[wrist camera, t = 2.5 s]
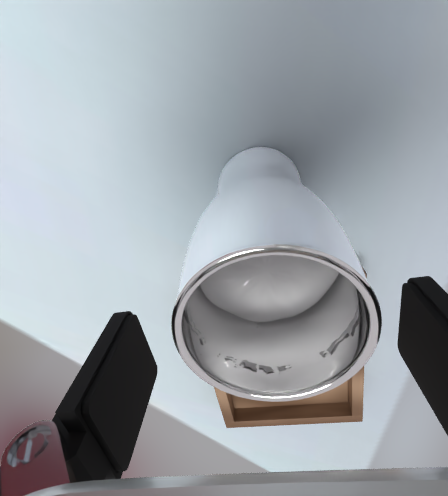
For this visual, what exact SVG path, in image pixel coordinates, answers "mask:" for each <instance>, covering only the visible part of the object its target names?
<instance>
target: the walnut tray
mask: <svg viewBox="0 0 448 496" xmlns="http://www.w3.org/2000/svg"><path fill="white" fill-rule="evenodd" d="M361 266H362V265H361ZM362 269H363V267H362ZM363 271H364V274H365V276H366V278H367V274H366V272H365V270H364V269H363ZM363 385H364V366H363V367H362V368H361V369H360V371H358V372H357V373H356V374H355V375H354V376H353V377H351V378H350V379H349V380H347V381H346V382H344V383H343V384H341V385H339V386H337V387H336V388H334V389H331V390H329V391H327V392H324V393H322V394H319V395H316V396H312V397H309V398H304V399H299V400H293V401H279V402H271V401H258V400H251V399H246V398H242V397H238V396H235V395H232V394H229V393H226V392H224V391H221V390H219V389H217V388H215V387H214V389H215V392H216V395H217V398H218V402H219V405H220V408H221V411H222V415H223V418H224V421H225V424H226V427H227V428H234V427H255V426H276V425H297V424H318V423H339V422H360V421H362V419H363Z"/></svg>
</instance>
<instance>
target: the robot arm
mask: <svg viewBox="0 0 448 496" xmlns="http://www.w3.org/2000/svg"><path fill="white" fill-rule="evenodd" d="M398 349H399V352H400V354H401V356H402V358H403V360H404V361H405V363H406V365H407V367H408V368H409V370H410V372H411V374H412V375H413V377H414V379H415V380H416V382H417V384H418V386H419V387H420V389H421V390H422V392H423V394H424V396H425V398H426V399H427V401H428V403H429V404H430V406H431V408H432V410H433V411H434V413H435V415H436V416H437V418H438V420H439V422H440V423H441V425H442V426H443V428H444V430H445V432H446V434H447V435H448V294H447V293H446V292H445V291H444V290H443V289H442V288H441V287H440V286H439V285H438V284H437V283H436V282H435V281H434V280H433V279H432V278H431V277H430V276H425V277H416V278H410V279H409V280H408V282H407V283H404V284H403V286H402V296H401V309H400V321H399V333H398ZM156 376H157V365H156V362H155V360H154V357H153V355H152V352H151V350H150V347H149V345H148V342H147V340H146V337H145V335H144V332H143V330H142V327H141V325H140V322H139V320H138V317H137V316H136V315H133V314H132V313H131V312H130V311H127V312H118V313H114V314H113V315H112V317H111V319H110V320H109V322H108V324H107V325H106V327H105V329H104V330H103V332H102V334H101V335H100V337H99V339H98V341H97V342H96V344H95V346H94V347H93V349H92V351H91V352H90V354H89V356H88V358H87V359H86V361H85V363H84V364H83V366H82V368H81V370H80V371H79V373H78V375H77V376H76V378H75V380H74V381H73V383H72V385H71V386H70V388H69V390H68V392H67V393H66V395H65V397H64V399H63V400H62V402H61V403H60V405H59V407H58V409H57V410H56V412H55V413H56V414H55V416H54V418H53V420H52V421H50V420H42V421H38V422H35V423H33V424H31V425H29V426H27V427H26V428H25V429H23V430H22V431H21V432H19V433H18V434H17V435H16V436H15V437H14V438H13V439H12V440H11V441H10V443H9V444H8V445H7V447H6V448H5V450H4V453H3V455H2V458H1V466H0V496H448V467H436V468H392V469H359V470H327V471H298V472H269V473H242V474H219V475H218V474H216V475H192V476H169V477H144V478H126V479H121V475H122V472H123V471H125V470H127V468H128V466H129V463H130V460H131V457H132V454H133V450H134V447H135V444H136V441H137V437H138V434H139V431H140V428H141V425H142V422H143V418H144V415H145V412H146V408H147V405H148V402H149V399H150V396H151V393H152V389H153V386H154V383H155V380H156Z"/></svg>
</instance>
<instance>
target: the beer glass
mask: <svg viewBox="0 0 448 496" xmlns="http://www.w3.org/2000/svg"><path fill="white" fill-rule="evenodd" d="M171 327H172V335H173V340H174V343H175V346H176V348H177V350H178V352H179V354H180V356H181V357H182V359H183V360H184V362H185V363H186V364H187V366H188V367H189V368H190V369H191V370H192V371H193V372H194V373H195V374H196V375H197V376H199V377H200V378H201V379H202V380H204V381H205V382H207V383H208V384H210V385H212V386H213V387H215V388H217V389H219V390H221V391H224V392H226V393H229V394H232V395H235V396H238V397H242V398H246V399H251V400H258V401H271V402H279V401H293V400H299V399H304V398H309V397H312V396H316V395H319V394H322V393H324V392H327V391H329V390H331V389H334V388H336V387H337V386H339V385H341V384H343V383H344V382H346V381H347V380H349V379H350V378H351V377H353V376H354V375H355V374H356V373H357V372H358V371H360V369H361V368H362V367H363V366H364V365H365V364H366V363H367V362H368V360H369V359H370V357H371V356H372V354H373V352H374V350H375V349H376V346H377V344H378V341H379V338H380V334H381V327H382V317H381V310H380V306H379V302H378V300H377V297H376V295H375V293H374V291H373V289H372V288H371V286H370V285H369V283H368V281H367V278H366V276H365V274H364V271H363V269H362V266H361V264H360V262H359V259H358V257H357V255H356V253H355V250H354V248H353V246H352V244H351V242H350V240H349V239H348V237H347V235H346V233H345V231H344V229H343V228H342V226H341V224H340V223H339V221H338V220H337V219H336V217H335V216H334V215H333V213H332V212H331V210H330V209H329V208H328V207H327V205H326V204H325V203H324V202H323V201H322V200H321V199H320V198H319V197H317V196H316V195H315V194H314V193H313V192H312V191H311V190H309V189H308V188H307V187H305V186H304V185H302V184H301V179H300V175H299V172H298V170H297V168H296V166H295V165H294V163H293V162H292V161H291V160H290V158H288V157H287V156H286V155H285V154H283V153H282V152H280V151H278V150H275V149H272V148H268V147H254V148H249V149H246V150H244V151H241V152H240V153H238V154H236V155H235V156H234V157H232V158H231V159H230V160H229V161H228V162H227V163H226V165H225V166H224V168H223V169H222V171H221V174H220V176H219V180H218V194H217V195H216V196H215V198H214V199H213V200H212V201H211V202H210V204H209V205H208V207H207V208H206V209H205V211H204V212H203V214H202V215H201V217H200V219H199V221H198V223H197V225H196V227H195V230H194V232H193V234H192V237H191V239H190V242H189V245H188V249H187V252H186V256H185V259H184V263H183V268H182V273H181V278H180V283H179V289H178V295H177V299H176V302H175V305H174V308H173V312H172V321H171Z"/></svg>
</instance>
